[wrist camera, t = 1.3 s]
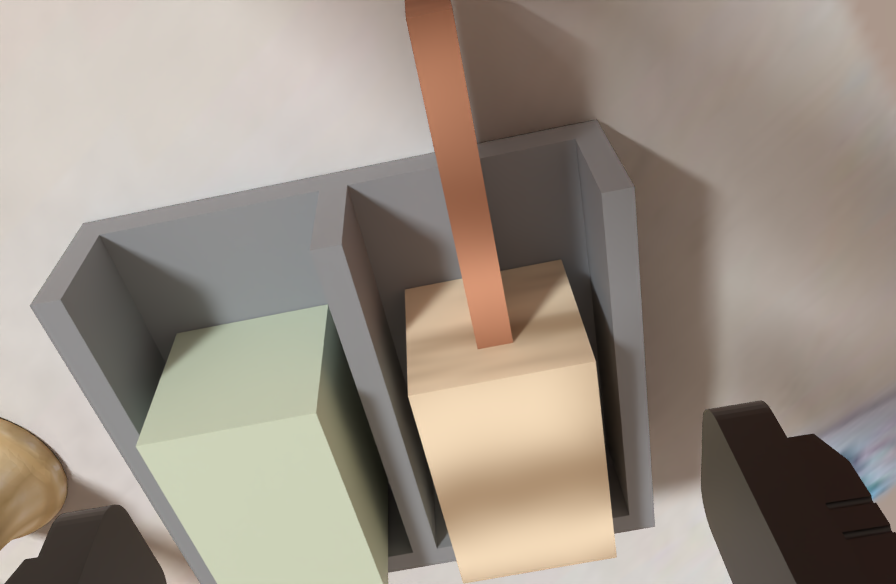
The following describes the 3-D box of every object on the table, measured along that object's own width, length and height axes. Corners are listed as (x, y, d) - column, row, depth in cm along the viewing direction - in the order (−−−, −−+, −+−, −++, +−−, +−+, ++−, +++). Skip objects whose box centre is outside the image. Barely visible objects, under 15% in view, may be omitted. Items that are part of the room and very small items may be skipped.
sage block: (176, 333, 30) (135, 446, 25) (327, 304, 30) (315, 413, 25) (260, 502, 36) (239, 621, 31) (388, 479, 36) (388, 596, 31)
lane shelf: (82, 223, 29) (29, 305, 25) (597, 119, 28) (634, 186, 24) (232, 506, 38) (212, 602, 34) (624, 436, 37) (654, 526, 33)
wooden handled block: (325, -6, 24) (308, 58, 19) (521, -49, 23) (558, 5, 18) (453, 467, 36) (463, 583, 31) (584, 444, 35) (616, 557, 30)
